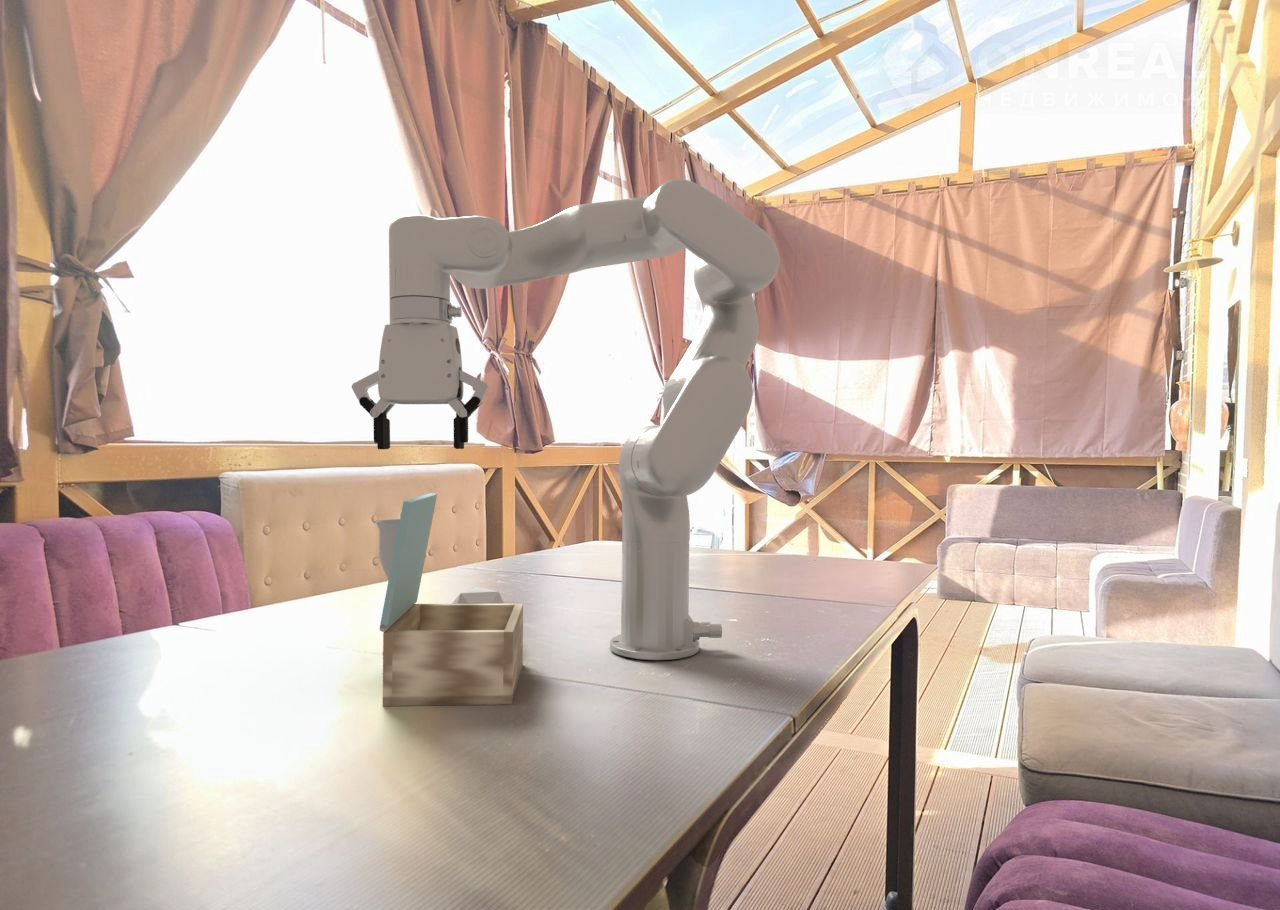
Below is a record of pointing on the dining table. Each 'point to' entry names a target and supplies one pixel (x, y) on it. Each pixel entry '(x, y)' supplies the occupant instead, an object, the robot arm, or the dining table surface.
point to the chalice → (387, 542)
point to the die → (479, 597)
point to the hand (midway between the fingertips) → (421, 448)
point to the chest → (453, 655)
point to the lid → (408, 558)
